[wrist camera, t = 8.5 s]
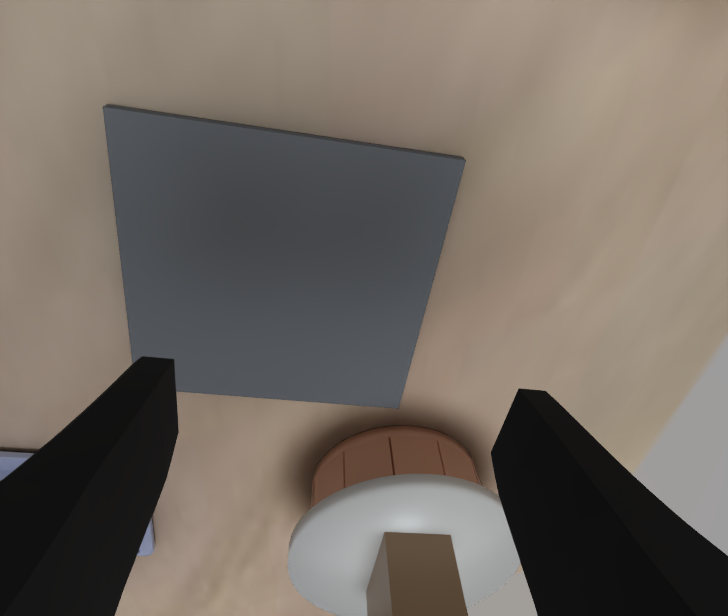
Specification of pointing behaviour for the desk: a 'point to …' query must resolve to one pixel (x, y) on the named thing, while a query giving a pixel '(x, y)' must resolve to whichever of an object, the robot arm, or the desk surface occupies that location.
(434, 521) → the lid
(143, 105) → the desk surface
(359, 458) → the bowl
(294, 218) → the mat
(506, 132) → the desk surface
